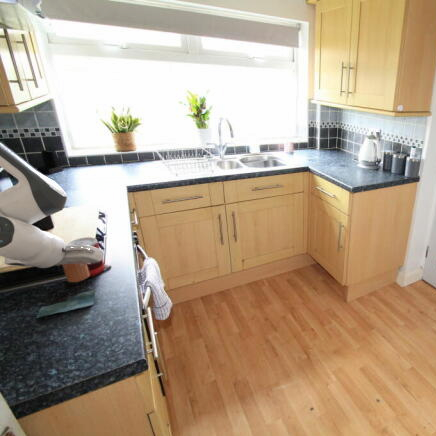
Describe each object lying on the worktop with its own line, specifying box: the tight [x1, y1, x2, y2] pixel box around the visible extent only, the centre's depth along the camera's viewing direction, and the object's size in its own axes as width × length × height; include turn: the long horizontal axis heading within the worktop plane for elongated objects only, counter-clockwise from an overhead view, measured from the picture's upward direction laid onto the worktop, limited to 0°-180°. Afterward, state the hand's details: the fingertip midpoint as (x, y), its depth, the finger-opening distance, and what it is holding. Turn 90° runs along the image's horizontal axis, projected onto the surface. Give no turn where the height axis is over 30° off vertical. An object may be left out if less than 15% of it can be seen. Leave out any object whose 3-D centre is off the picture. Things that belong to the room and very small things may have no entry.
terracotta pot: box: [61, 263, 90, 283], centre depth 96 cm, size 6×6×9 cm
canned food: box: [67, 236, 106, 278], centre depth 104 cm, size 8×8×11 cm
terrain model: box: [35, 289, 97, 319], centre depth 89 cm, size 13×8×2 cm, turn 122°
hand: (75, 262), depth 97 cm, fingers closed on terracotta pot, 5 cm apart
